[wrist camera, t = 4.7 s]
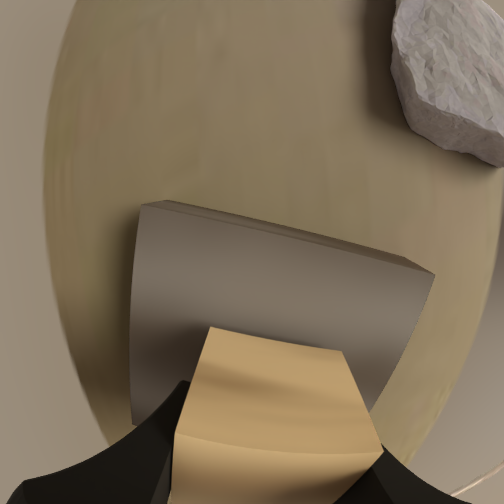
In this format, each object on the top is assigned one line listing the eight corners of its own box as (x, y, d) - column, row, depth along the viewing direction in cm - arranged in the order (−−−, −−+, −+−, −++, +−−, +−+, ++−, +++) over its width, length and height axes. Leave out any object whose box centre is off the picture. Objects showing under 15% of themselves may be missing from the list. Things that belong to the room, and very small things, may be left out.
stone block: (378, 140, 13) (510, 179, 11) (403, 115, 9) (555, 176, 7) (371, -7, 11) (490, 34, 9) (378, -50, 6) (516, 8, 4)
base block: (328, 425, 16) (335, 458, 13) (148, 392, 15) (132, 424, 12) (404, 257, 13) (435, 274, 10) (167, 199, 12) (141, 204, 10)
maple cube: (300, 433, 11) (311, 520, 6) (194, 415, 11) (170, 506, 6) (341, 351, 10) (383, 451, 5) (210, 326, 10) (174, 432, 5)
